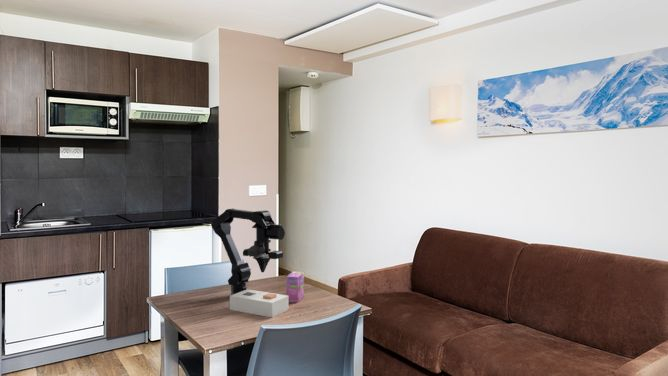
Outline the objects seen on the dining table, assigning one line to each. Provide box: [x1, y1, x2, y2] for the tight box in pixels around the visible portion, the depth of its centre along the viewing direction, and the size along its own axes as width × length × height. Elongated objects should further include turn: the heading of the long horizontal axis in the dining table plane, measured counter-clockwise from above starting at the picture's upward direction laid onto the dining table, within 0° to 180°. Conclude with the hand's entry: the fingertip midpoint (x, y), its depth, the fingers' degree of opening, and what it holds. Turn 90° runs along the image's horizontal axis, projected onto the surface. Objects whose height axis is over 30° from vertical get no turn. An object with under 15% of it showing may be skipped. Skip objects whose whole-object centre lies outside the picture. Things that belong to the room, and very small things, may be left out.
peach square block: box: [263, 292, 277, 299], centre depth 192 cm, size 4×4×6 cm
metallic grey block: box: [242, 292, 255, 296], centre depth 198 cm, size 4×4×6 cm
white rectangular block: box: [229, 288, 290, 318], centre depth 195 cm, size 22×12×6 cm, turn 63°
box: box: [285, 271, 305, 303], centre depth 211 cm, size 10×6×12 cm, turn 168°
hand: (262, 272), depth 208 cm, fingers closed
